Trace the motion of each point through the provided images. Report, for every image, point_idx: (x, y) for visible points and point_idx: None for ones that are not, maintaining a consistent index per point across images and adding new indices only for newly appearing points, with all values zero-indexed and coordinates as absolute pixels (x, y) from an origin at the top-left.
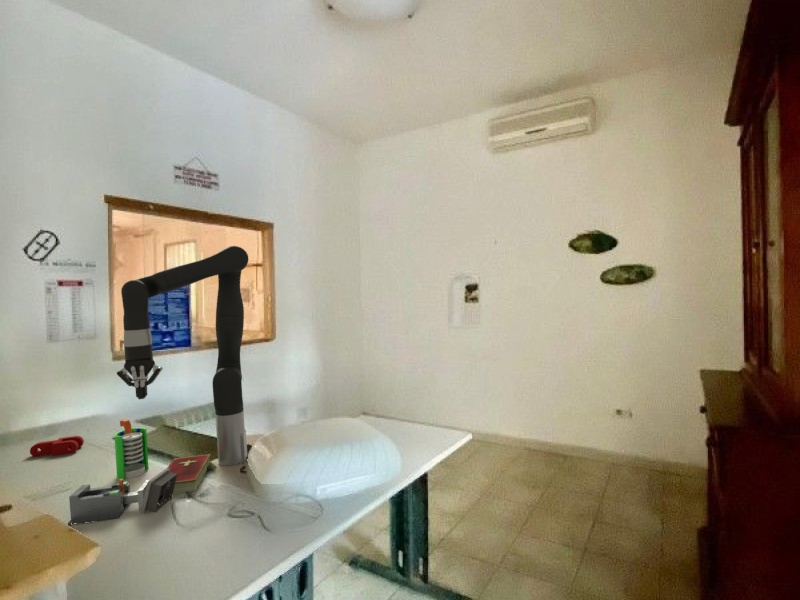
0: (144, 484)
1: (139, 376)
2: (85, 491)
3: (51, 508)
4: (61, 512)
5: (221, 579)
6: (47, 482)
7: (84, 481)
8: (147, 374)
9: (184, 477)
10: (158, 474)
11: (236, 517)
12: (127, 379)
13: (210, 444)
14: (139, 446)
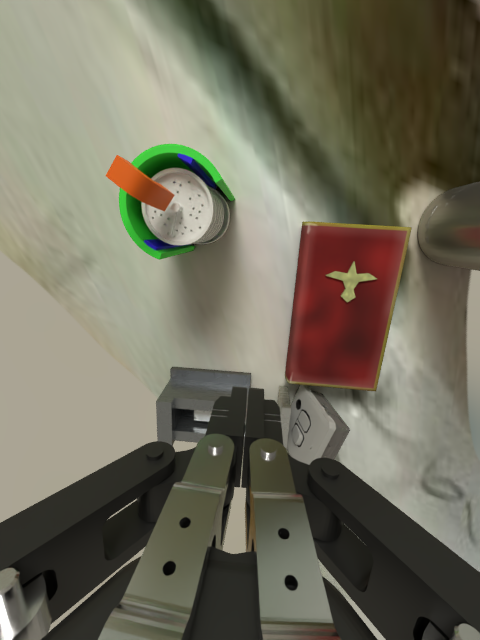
0: (283, 428)
1: (214, 543)
2: (173, 417)
3: (107, 346)
4: (135, 370)
5: None
6: (10, 191)
7: (101, 222)
8: (307, 546)
9: (350, 368)
10: (317, 455)
11: (433, 495)
12: (113, 565)
13: (396, 15)
14: (214, 226)
